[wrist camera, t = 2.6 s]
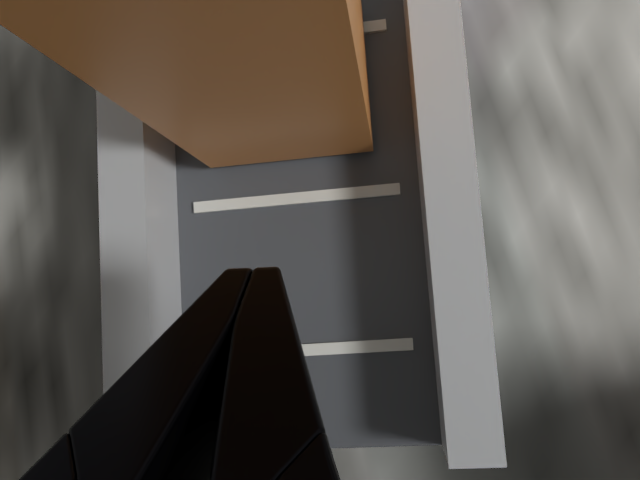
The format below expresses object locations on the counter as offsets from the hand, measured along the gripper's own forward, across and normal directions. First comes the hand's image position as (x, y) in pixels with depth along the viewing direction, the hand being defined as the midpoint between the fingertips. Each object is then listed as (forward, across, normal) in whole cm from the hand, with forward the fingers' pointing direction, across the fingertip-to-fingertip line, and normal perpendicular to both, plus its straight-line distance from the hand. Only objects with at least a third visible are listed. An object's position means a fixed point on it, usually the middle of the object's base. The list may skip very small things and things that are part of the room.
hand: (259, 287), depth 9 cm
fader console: (+10, 0, +2) cm, 10 cm away
